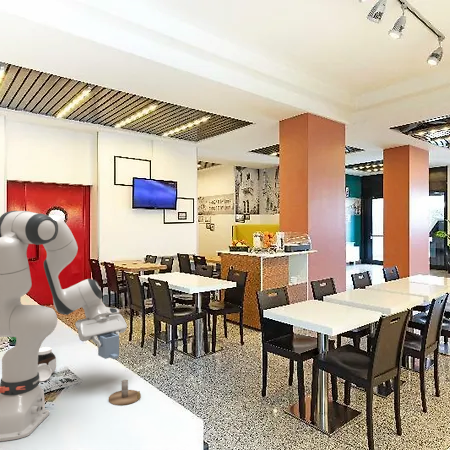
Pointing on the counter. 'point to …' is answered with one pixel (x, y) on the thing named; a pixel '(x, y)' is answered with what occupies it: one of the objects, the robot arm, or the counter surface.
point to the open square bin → (109, 346)
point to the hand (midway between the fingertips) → (109, 344)
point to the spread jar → (46, 363)
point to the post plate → (123, 400)
